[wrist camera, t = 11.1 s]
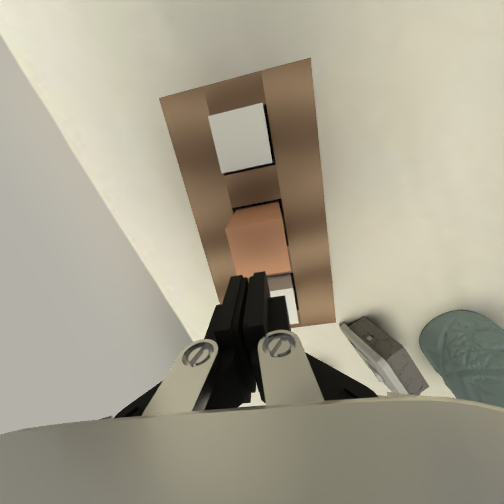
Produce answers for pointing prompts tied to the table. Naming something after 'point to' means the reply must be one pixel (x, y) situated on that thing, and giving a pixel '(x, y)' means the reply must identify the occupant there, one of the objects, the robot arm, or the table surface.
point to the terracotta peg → (258, 240)
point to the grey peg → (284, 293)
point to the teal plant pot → (467, 355)
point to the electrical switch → (385, 357)
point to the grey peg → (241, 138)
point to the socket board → (259, 177)
